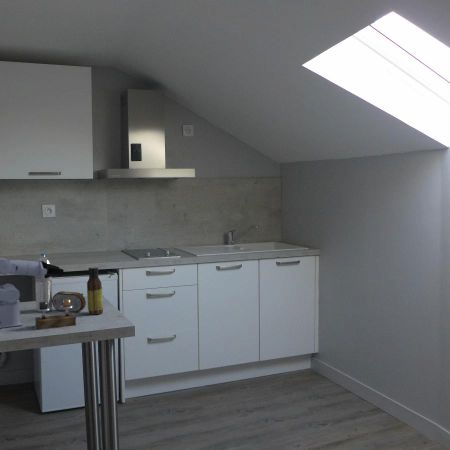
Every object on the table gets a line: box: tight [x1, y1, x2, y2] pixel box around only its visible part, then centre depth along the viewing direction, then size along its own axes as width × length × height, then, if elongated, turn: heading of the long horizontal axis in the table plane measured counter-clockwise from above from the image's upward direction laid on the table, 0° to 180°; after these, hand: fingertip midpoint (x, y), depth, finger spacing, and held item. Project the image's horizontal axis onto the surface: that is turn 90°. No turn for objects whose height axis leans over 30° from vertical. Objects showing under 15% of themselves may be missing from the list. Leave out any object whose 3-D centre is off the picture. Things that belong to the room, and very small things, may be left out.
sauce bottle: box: [86, 266, 104, 315], centre depth 256 cm, size 6×6×20 cm
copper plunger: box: [60, 299, 73, 316], centre depth 238 cm, size 5×5×6 cm
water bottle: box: [34, 252, 53, 313], centre depth 260 cm, size 7×7×25 cm
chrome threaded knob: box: [36, 302, 51, 319], centre depth 234 cm, size 5×5×6 cm
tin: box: [52, 290, 86, 313], centre depth 260 cm, size 15×3×8 cm, turn 74°
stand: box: [34, 312, 77, 330], centre depth 237 cm, size 14×7×3 cm, turn 119°
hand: (61, 270), depth 245 cm, fingers open, 7 cm apart
